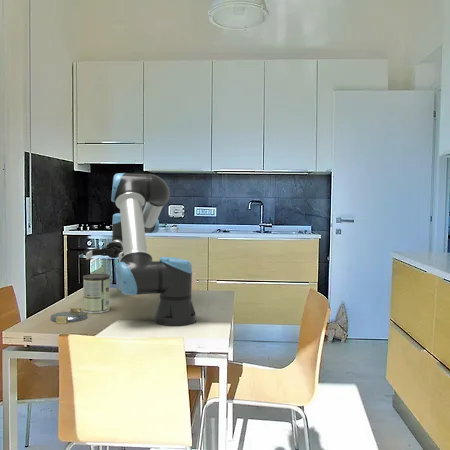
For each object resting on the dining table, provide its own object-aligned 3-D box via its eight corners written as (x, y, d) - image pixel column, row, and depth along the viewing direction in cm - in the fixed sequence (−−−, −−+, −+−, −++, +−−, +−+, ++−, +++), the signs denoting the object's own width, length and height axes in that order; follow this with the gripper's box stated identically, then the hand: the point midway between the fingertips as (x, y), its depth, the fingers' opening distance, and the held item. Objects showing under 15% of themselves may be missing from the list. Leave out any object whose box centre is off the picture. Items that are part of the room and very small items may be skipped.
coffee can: (84, 308, 191) (84, 273, 190) (110, 307, 192) (110, 273, 192) (81, 313, 180) (81, 277, 180) (108, 313, 182) (108, 277, 182)
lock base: (60, 312, 182) (59, 307, 182) (93, 313, 181) (93, 307, 181) (43, 323, 166) (43, 317, 166) (79, 323, 165) (79, 317, 165)
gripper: (142, 257, 216) (132, 266, 195) (88, 256, 216) (73, 264, 195) (142, 241, 215) (133, 248, 194) (88, 240, 215) (73, 246, 194)
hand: (103, 256), depth 195 cm, fingers open, 13 cm apart
